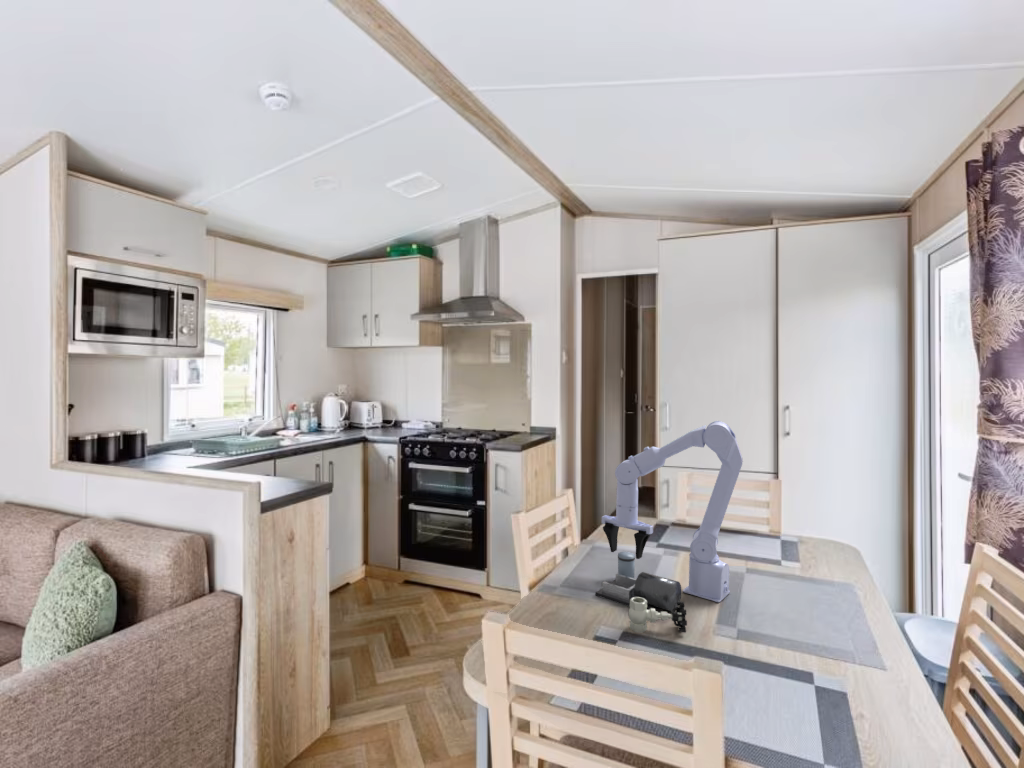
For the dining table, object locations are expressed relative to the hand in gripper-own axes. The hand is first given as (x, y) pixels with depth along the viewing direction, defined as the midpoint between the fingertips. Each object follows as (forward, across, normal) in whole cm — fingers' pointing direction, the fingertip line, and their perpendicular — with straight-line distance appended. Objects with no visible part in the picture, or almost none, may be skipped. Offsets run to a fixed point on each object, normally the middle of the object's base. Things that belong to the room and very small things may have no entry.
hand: (626, 554), depth 149 cm
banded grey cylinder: (+7, 0, 0) cm, 7 cm away
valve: (+7, +19, -20) cm, 28 cm away
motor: (+7, +9, -9) cm, 14 cm away
